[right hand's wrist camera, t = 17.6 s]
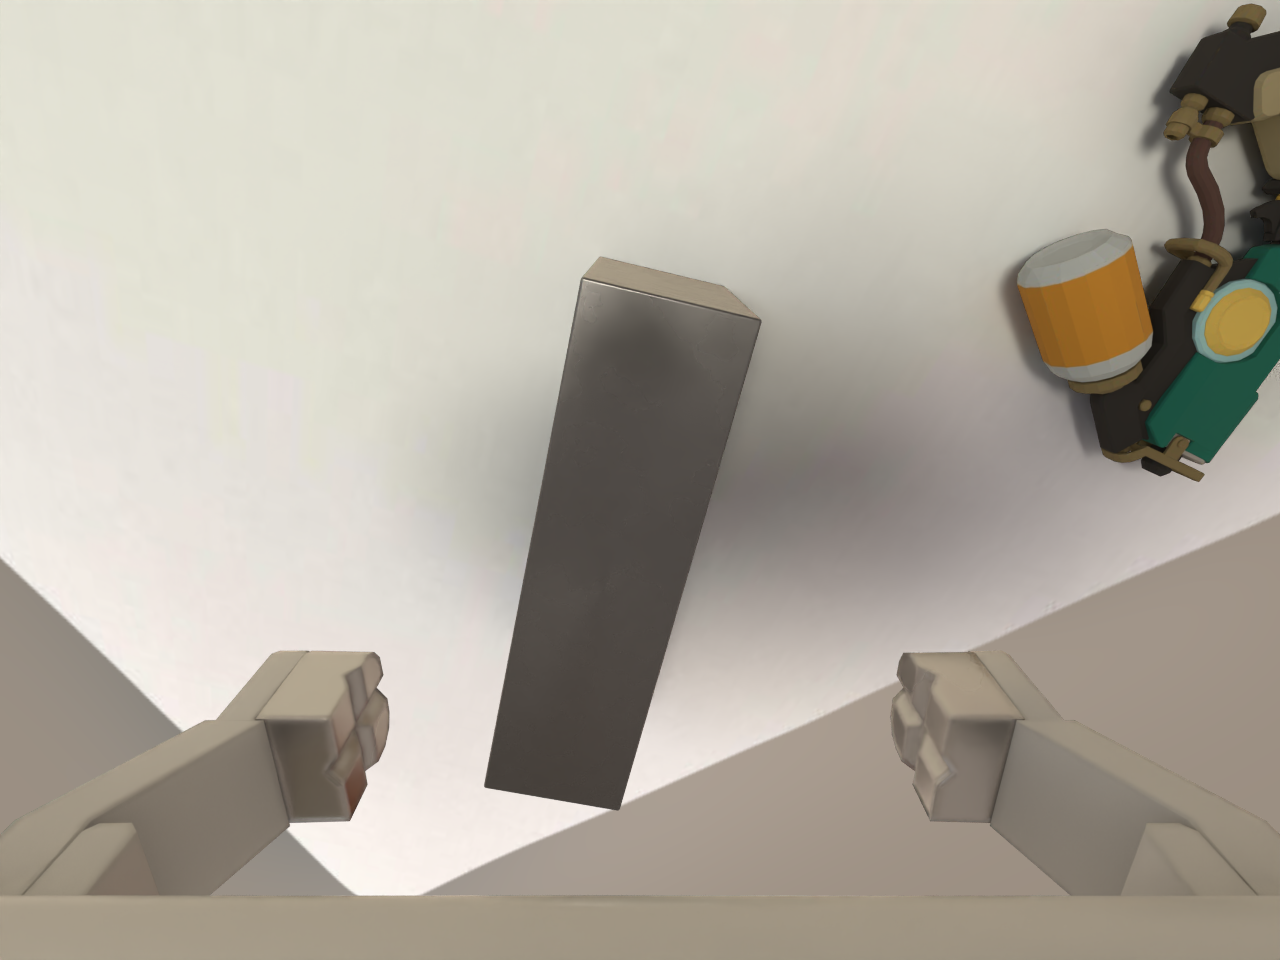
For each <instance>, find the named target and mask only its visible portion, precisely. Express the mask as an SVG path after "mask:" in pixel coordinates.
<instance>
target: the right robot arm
mask: <svg viewBox="0 0 1280 960" xmlns="http://www.w3.org/2000/svg"><path fill="white" fill-rule="evenodd" d="M382 677H383V671H382V666H381V661H380V657H379V656H378V655H377V654H376V653H374V652H345V651H311V652H310V651H278V652H275V653H272V654H271V655H270V656H269V657H268V659H267V660H266V661H265V662H264V663H263V665H262V666H261V667H260V668H259V669H258V670H257V672H256V673H255V674H254V675H253V676H252V678H251V679H250V680H249V681H248V682H247V684H246V685H245V686H244V687H243V688H242V690H241V691H240V692H239V693H238V694H237V695H236V697H235V698H234V699H233V700H232V701H231V703H230V704H229V705H228V706H227V707H226V709H225V710H224V711H223V712H222V713H221V715H220V716H219V717H218V718H217V719H216V720H205V721H203V722H201V723H199V724H197V725H195V726H193V727H192V728H190V729H188V730H186V731H184V732H182V733H180V734H178V735H176V736H174V737H172V738H171V739H169V740H167V741H165V742H163V743H161V744H159V745H157V746H155V747H154V748H151V749H150V750H148V751H146V752H144V753H142V754H140V755H138V756H136V757H134V758H132V759H131V760H129V761H127V762H125V763H123V764H121V765H119V766H117V767H115V768H113V769H111V770H110V771H108V772H106V773H104V774H102V775H100V776H98V777H96V778H94V779H92V780H90V781H89V782H87V783H85V784H83V785H81V786H79V787H77V788H75V789H73V790H71V791H69V792H68V793H66V794H64V795H62V796H60V797H58V798H56V799H54V800H52V801H50V802H49V803H47V804H45V805H43V806H41V807H39V808H37V809H35V810H33V811H31V812H29V813H28V814H26V815H24V816H22V817H20V818H18V819H16V820H15V821H14V822H13V823H11V825H9V826H8V827H7V828H6V829H5V830H4V831H3V832H2V833H1V834H0V960H1280V834H1279V833H1278V832H1277V831H1276V830H1275V829H1274V828H1273V827H1272V826H1271V825H1270V824H1269V823H1268V822H1267V821H1265V820H1263V819H1262V818H1260V817H1258V816H1256V815H1254V814H1252V813H1250V812H1248V811H1246V810H1244V809H1242V808H1241V807H1239V806H1237V805H1235V804H1233V803H1231V802H1229V801H1227V800H1225V799H1223V798H1222V797H1220V796H1218V795H1216V794H1214V793H1212V792H1210V791H1208V790H1206V789H1204V788H1203V787H1201V786H1199V785H1197V784H1195V783H1193V782H1191V781H1189V780H1187V779H1185V778H1183V777H1182V776H1180V775H1178V774H1176V773H1174V772H1172V771H1170V770H1168V769H1166V768H1164V767H1163V766H1161V765H1159V764H1157V763H1155V762H1153V761H1151V760H1149V759H1147V758H1145V757H1144V756H1142V755H1140V754H1138V753H1136V752H1134V751H1132V750H1130V749H1128V748H1126V747H1125V746H1123V745H1121V744H1119V743H1117V742H1115V741H1113V740H1111V739H1109V738H1107V737H1105V736H1104V735H1102V734H1100V733H1098V732H1096V731H1094V730H1092V729H1090V728H1088V727H1086V726H1085V725H1083V724H1081V723H1079V722H1077V721H1075V720H1064V719H1063V718H1062V717H1061V716H1060V715H1059V713H1058V712H1057V711H1056V710H1055V709H1054V707H1053V706H1052V705H1051V704H1050V703H1049V701H1048V700H1047V699H1046V698H1045V697H1044V696H1043V694H1042V693H1041V692H1040V691H1039V690H1038V688H1037V687H1036V686H1035V685H1034V684H1033V682H1032V681H1031V680H1030V679H1029V678H1028V677H1027V675H1026V674H1025V673H1024V672H1023V671H1022V669H1021V668H1020V667H1019V666H1018V665H1017V663H1016V662H1015V661H1014V660H1013V659H1012V658H1011V656H1010V655H1009V654H1007V653H1005V652H1003V651H1001V650H993V651H968V652H937V653H903V655H902V657H901V659H900V661H899V665H898V670H897V677H898V678H899V680H900V682H901V684H902V686H903V689H902V690H901V691H900V692H899V693H898V694H897V695H896V696H895V697H894V698H893V700H892V708H891V716H890V718H891V730H892V737H893V741H894V744H895V748H896V750H897V752H898V755H899V757H900V759H901V761H902V762H903V763H905V764H906V765H907V766H909V767H910V768H911V769H913V770H914V771H915V774H914V779H913V786H914V789H915V791H916V793H917V795H918V797H919V799H920V801H921V803H922V805H923V807H924V809H925V811H926V813H927V815H928V817H929V819H930V821H941V822H978V823H990V826H991V827H992V828H993V829H994V830H996V831H997V832H998V833H999V834H1000V835H1001V836H1002V837H1004V838H1005V839H1006V840H1007V841H1008V842H1009V843H1011V844H1012V845H1013V846H1014V847H1015V848H1016V849H1017V850H1019V851H1020V852H1021V853H1022V854H1023V855H1024V856H1026V857H1027V858H1028V859H1029V860H1030V861H1031V862H1033V863H1034V864H1035V865H1036V866H1037V867H1038V868H1039V869H1041V870H1042V871H1043V872H1044V873H1045V874H1046V875H1048V876H1049V877H1050V878H1051V879H1052V880H1053V881H1055V882H1056V883H1057V884H1058V885H1059V886H1060V887H1061V888H1063V889H1064V890H1065V891H1066V892H1067V893H1068V894H1070V895H1071V896H607V895H604V896H603V895H602V896H601V895H600V896H599V895H505V896H504V895H502V896H501V895H500V896H498V895H496V896H241V895H240V896H239V895H211V894H212V893H213V892H214V891H215V890H216V889H218V888H219V887H220V886H221V885H222V884H223V883H225V882H226V881H227V880H228V879H229V878H230V877H231V876H233V875H234V874H235V873H236V872H237V871H238V870H240V869H241V868H242V867H243V866H244V865H245V864H247V863H248V862H249V861H250V860H251V859H252V858H254V857H255V856H256V855H257V854H258V853H259V852H260V851H262V850H263V849H264V848H265V847H266V846H267V845H269V844H270V843H271V842H272V841H273V840H274V839H276V838H277V837H278V836H279V835H280V834H281V833H282V832H284V831H285V830H286V829H287V828H288V827H289V826H290V824H289V823H303V822H337V821H350V820H351V818H352V816H353V813H354V811H355V809H356V807H357V805H358V803H359V801H360V799H361V797H362V795H363V793H364V791H365V789H366V786H367V779H366V774H365V771H366V770H367V769H369V768H370V767H371V766H373V765H374V764H375V763H377V762H378V761H379V759H380V757H381V754H382V752H383V750H384V748H385V745H386V740H387V735H388V730H389V706H388V700H387V698H386V697H385V696H384V695H383V694H382V693H381V692H380V691H379V690H378V689H377V686H378V684H379V682H380V680H381V678H382Z"/></svg>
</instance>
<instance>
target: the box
mask: <svg viewBox="0 0 1280 960" xmlns="http://www.w3.org/2000/svg"><path fill="white" fill-rule="evenodd" d="M760 325H761V319H760V318H759V317H757V316H756V315H755V314H754V313H753V312H752V311H751V310H750V309H749V308H748V307H746V306H745V305H744V304H743V303H742V302H741V301H740V300H739V299H738V298H736V297H735V296H734V295H733V294H732V293H731V292H730V291H729V290H728V289H727V288H725V287H724V286H720V285H716V284H712V283H708V282H704V281H700V280H696V279H691V278H687V277H683V276H679V275H675V274H671V273H666V272H662V271H658V270H654V269H650V268H646V267H641V266H637V265H633V264H629V263H625V262H621V261H617V260H612V259H608V258H604V257H599V258H598V259H597V260H596V262H595V263H594V264H593V265H592V266H591V268H590V269H589V270H588V271H587V272H586V273H585V275H584V276H583V277H582V278H581V281H580V287H579V292H578V297H577V302H576V308H575V313H574V318H573V323H572V329H571V334H570V339H569V344H568V349H567V355H566V360H565V365H564V370H563V376H562V381H561V386H560V391H559V397H558V402H557V407H556V412H555V417H554V423H553V428H552V433H551V438H550V444H549V449H548V454H547V459H546V464H545V470H544V475H543V480H542V485H541V491H540V496H539V501H538V506H537V512H536V517H535V522H534V527H533V532H532V538H531V543H530V548H529V553H528V559H527V564H526V569H525V574H524V579H523V585H522V590H521V595H520V600H519V606H518V611H517V616H516V621H515V627H514V632H513V637H512V642H511V647H510V653H509V658H508V663H507V668H506V674H505V679H504V684H503V689H502V695H501V700H500V705H499V710H498V715H497V721H496V726H495V731H494V736H493V742H492V747H491V752H490V757H489V762H488V768H487V773H486V778H485V783H484V787H485V788H490V789H496V790H502V791H508V792H513V793H519V794H525V795H531V796H537V797H542V798H548V799H554V800H560V801H566V802H571V803H577V804H583V805H589V806H595V807H600V808H606V809H612V810H619V809H620V806H621V803H622V799H623V796H624V793H625V789H626V786H627V782H628V779H629V775H630V772H631V768H632V765H633V762H634V758H635V755H636V751H637V748H638V744H639V741H640V738H641V734H642V731H643V727H644V724H645V720H646V717H647V714H648V710H649V707H650V703H651V700H652V696H653V693H654V689H655V686H656V683H657V679H658V676H659V672H660V669H661V665H662V662H663V659H664V655H665V652H666V648H667V645H668V641H669V638H670V635H671V631H672V628H673V624H674V621H675V617H676V614H677V610H678V607H679V604H680V600H681V597H682V593H683V590H684V586H685V583H686V580H687V576H688V573H689V569H690V566H691V562H692V559H693V556H694V552H695V549H696V545H697V542H698V538H699V535H700V531H701V528H702V525H703V521H704V518H705V514H706V511H707V507H708V504H709V501H710V497H711V494H712V490H713V487H714V483H715V480H716V477H717V473H718V470H719V466H720V463H721V459H722V456H723V452H724V449H725V446H726V442H727V439H728V435H729V432H730V428H731V425H732V422H733V418H734V415H735V411H736V408H737V404H738V401H739V398H740V394H741V391H742V387H743V384H744V380H745V377H746V373H747V370H748V367H749V363H750V360H751V356H752V353H753V349H754V346H755V343H756V339H757V336H758V332H759V329H760Z"/></svg>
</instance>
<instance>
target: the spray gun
mask: <svg viewBox="0 0 1280 960" xmlns="http://www.w3.org/2000/svg"><path fill="white" fill-rule="evenodd" d="M1265 16H1266V10H1265V9H1264V8H1263V7H1262V6H1259V5H1255V4H1246V5H1242V6H1240V7H1238V8H1237V10H1236V11H1235V13H1234V14H1233V15H1232V17H1231V18H1230V19H1229V21H1228V22H1227V26H1228V27H1229V29H1227V30H1225V31H1223V32H1220V33H1217V34H1214V35H1211V36H1208V37H1205V38H1203V39H1201V41H1200V42H1199V44H1198V45H1197V47H1196V49H1195V50H1194V52H1193V53H1192V55H1191V57H1190V58H1189V60H1188V62H1187V63H1186V65H1185V66H1184V68H1183V70H1182V71H1181V73H1180V75H1179V76H1178V78H1177V79H1176V81H1175V83H1174V84H1173V86H1172V88H1171V89H1170V93H1171V94H1173V95H1174V96H1176V97H1178V98H1179V99H1181V100H1182V101H1181V107H1182V108H1179V109H1178V110H1177V111H1174V112H1173V114H1172V115H1171V117H1170V118H1169V120H1168V122H1167V123H1166V126H1167V127H1166V129H1165V131H1164V136H1165V138H1167V139H1170V140H1180V139H1183V138H1184V137H1185V135H1186V134H1187V135H1189V136H1190V138H1189V141H1190V143H1191V144H1190V146H1189V149H1188V153H1187V156H1186V170H1187V175H1188V178H1189V180H1190V182H1191V183H1192V185H1193V187H1194V189H1195V191H1196V193H1197V196H1198V199H1199V202H1200V204H1201V207H1202V211H1203V220H1204V228H1203V234H1202V237H1201V239H1192V238H1176V239H1169V240H1168V241H1167V242H1166V243H1165V245H1164V246H1165V248H1166V250H1167V252H1169V253H1171V254H1173V255H1174V256H1176V257H1178V258H1180V259H1182V260H1181V261H1180V263H1179V264H1178V266H1177V267H1176V269H1175V270H1174V272H1173V273H1172V275H1171V276H1170V278H1169V279H1168V281H1167V282H1166V284H1165V285H1164V287H1163V288H1162V290H1161V291H1160V293H1159V294H1158V296H1157V297H1156V299H1155V300H1154V302H1153V303H1152V305H1151V306H1150V308H1149V312H1148V307H1147V303H1146V299H1145V295H1144V290H1143V286H1142V282H1141V278H1140V273H1139V269H1138V265H1137V261H1136V256H1135V252H1134V248H1133V244H1132V240H1131V238H1130V237H1129V236H1125V235H1122V234H1118V233H1115V232H1113V231H1110V230H1108V229H1101V230H1093V231H1089V232H1085V233H1081V234H1077V235H1074V236H1072V237H1069V238H1066V239H1063V240H1060V241H1058V242H1056V243H1054V244H1052V245H1050V246H1048V247H1045V248H1044V249H1042V250H1040V251H1039V252H1037V253H1036V254H1034V255H1033V256H1032V257H1030V258H1029V259H1028V260H1027V261H1026V263H1025V264H1024V266H1023V267H1022V269H1021V271H1020V272H1019V274H1018V279H1017V286H1018V289H1019V292H1020V295H1021V298H1022V301H1023V304H1024V306H1025V309H1026V312H1027V315H1028V318H1029V321H1030V324H1031V327H1032V330H1033V333H1034V336H1035V339H1036V342H1037V345H1038V348H1039V351H1040V354H1041V356H1042V359H1043V362H1044V363H1045V364H1046V366H1047V367H1048V368H1049V370H1050V371H1051V372H1052V373H1054V374H1055V375H1057V376H1058V377H1061V378H1064V379H1067V380H1068V384H1069V387H1070V388H1071V389H1072V390H1074V391H1075V392H1078V393H1085V394H1090V403H1091V408H1092V412H1093V416H1094V421H1095V425H1096V430H1097V434H1098V438H1099V443H1100V447H1101V449H1102V453H1103V455H1104V456H1105V457H1106V458H1108V459H1111V460H1113V461H1116V462H1121V463H1124V462H1132V461H1135V460H1138V459H1140V458H1142V457H1143V458H1142V459H1141V464H1142V468H1143V469H1145V470H1147V471H1150V472H1152V473H1154V474H1156V475H1158V476H1163V475H1166V474H1169V473H1170V472H1171V471H1174V472H1176V473H1178V474H1181V475H1183V476H1185V477H1187V478H1190V479H1192V480H1194V481H1197V482H1199V481H1200V480H1201V479H1202V477H1203V476H1204V475H1205V474H1204V473H1202V472H1200V471H1198V470H1196V469H1194V468H1192V467H1190V466H1188V465H1186V464H1183V463H1181V462H1179V460H1180V459H1181V457H1183V458H1185V459H1188V460H1190V461H1193V462H1195V463H1198V464H1201V465H1202V464H1204V463H1209V462H1210V461H1211V460H1212V458H1213V457H1214V456H1215V454H1216V453H1217V452H1218V450H1219V449H1220V448H1221V446H1222V445H1223V444H1224V443H1225V441H1226V440H1227V439H1228V437H1229V436H1230V435H1231V433H1232V432H1233V431H1234V429H1235V428H1236V427H1237V426H1238V424H1239V423H1240V422H1241V420H1242V419H1243V418H1244V416H1245V415H1246V414H1247V413H1248V411H1249V410H1250V409H1251V407H1252V406H1253V405H1254V403H1255V402H1256V401H1257V400H1258V393H1257V392H1256V390H1257V389H1258V388H1259V386H1260V385H1261V384H1262V382H1263V381H1264V380H1265V378H1266V377H1267V376H1268V374H1269V373H1270V372H1271V370H1272V369H1273V367H1274V366H1275V365H1276V363H1277V362H1278V361H1279V359H1280V31H1278V32H1274V33H1270V34H1267V35H1263V36H1259V37H1255V38H1251V35H1250V33H1252V32H1255V31H1257V30H1258V28H1259V27H1260V25H1261V23H1262V21H1263V19H1264V17H1265ZM1198 111H1200V112H1201V113H1203V115H1202V118H1201V120H1202V123H1203V124H1201V123H1199V122H1197V121H1198V119H1199V118H1198V114H1199V112H1198ZM1250 122H1251V123H1252V126H1253V129H1254V132H1255V136H1256V139H1257V142H1258V145H1259V149H1260V152H1261V155H1262V159H1263V162H1264V165H1265V169H1266V171H1267V172H1268V174H1269V175H1270V176H1271V177H1273V178H1274V179H1272V180H1269V181H1268V182H1267V183H1266V184H1265V186H1264V187H1263V188H1262V190H1263V191H1264V192H1265V193H1266V194H1279V195H1278V196H1277V197H1276V200H1274V201H1270V202H1267V203H1264V204H1262V205H1260V206H1258V207H1256V208H1254V209H1253V210H1251V211H1250V215H1251V218H1254V217H1255V218H1261V219H1263V222H1264V232H1265V233H1264V238H1263V241H1272V242H1271V243H1270V244H1267V245H1261V246H1255V247H1252V248H1251V249H1250V250H1249V251H1248V252H1247V254H1246V255H1245V256H1244V257H1243V259H1240V260H1234V261H1233V258H1232V256H1231V255H1230V253H1229V252H1228V251H1227V250H1226V249H1224V248H1223V247H1221V246H1219V244H1220V241H1221V239H1222V235H1223V230H1224V226H1225V219H1224V205H1223V202H1222V198H1221V194H1220V190H1219V187H1218V185H1217V183H1216V181H1215V179H1214V177H1213V175H1212V173H1211V171H1210V169H1209V167H1208V161H1207V155H1208V152H1209V149H1210V148H1212V147H1215V146H1216V145H1217V144H1218V143H1219V141H1220V140H1221V138H1222V137H1223V135H1224V133H1223V131H1222V130H1221V129H1222V128H1223V127H1226V126H1228V125H1238V124H1244V123H1250ZM1194 251H1195V252H1194ZM1212 258H1213V259H1214V260H1215V261H1217V262H1218V264H1212V263H1211V260H1212ZM1129 451H1132V452H1129ZM1127 452H1129V453H1127Z"/></svg>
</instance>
